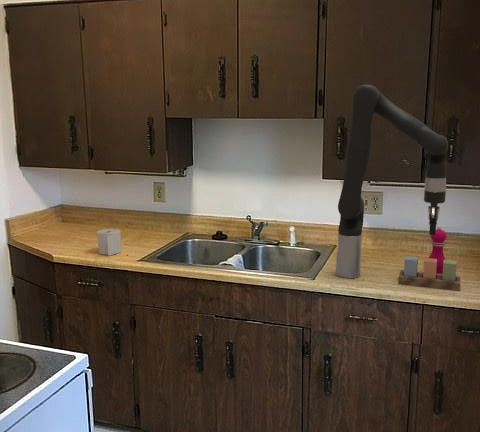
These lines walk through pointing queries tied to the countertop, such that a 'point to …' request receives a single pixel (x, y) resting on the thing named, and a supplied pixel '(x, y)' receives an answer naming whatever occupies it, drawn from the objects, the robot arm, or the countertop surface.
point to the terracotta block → (430, 268)
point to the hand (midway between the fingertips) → (432, 234)
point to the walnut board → (429, 281)
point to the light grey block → (109, 241)
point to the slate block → (410, 266)
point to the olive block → (449, 270)
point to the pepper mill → (438, 249)
